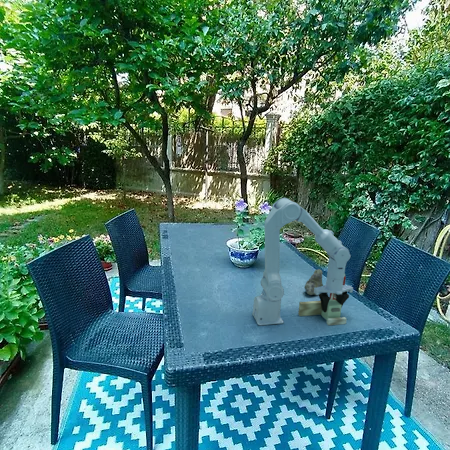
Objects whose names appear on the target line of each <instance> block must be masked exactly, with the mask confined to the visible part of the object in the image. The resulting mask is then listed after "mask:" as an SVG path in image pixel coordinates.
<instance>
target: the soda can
mask: <svg viewBox="0 0 450 450" xmlns="http://www.w3.org/2000/svg"><path fill="white" fill-rule="evenodd" d="M346 277H347V276H346V273H344V280H343V285H345V286H346ZM329 297H330V300H336V293H329Z"/></svg>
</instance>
